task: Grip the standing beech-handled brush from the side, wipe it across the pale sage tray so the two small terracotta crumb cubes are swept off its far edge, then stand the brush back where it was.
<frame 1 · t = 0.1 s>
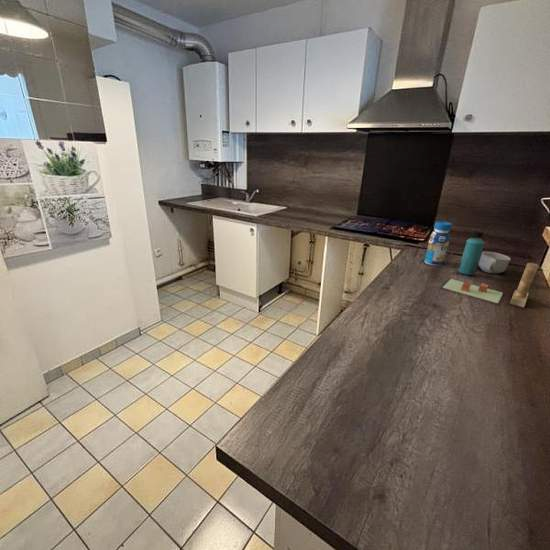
beverage bottle: (465, 275, 128), on the worktop
crumb a: (482, 290, 111), point 1 cm above the worktop, touching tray
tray: (471, 292, 112), on the worktop
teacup: (489, 272, 133), on the worktop
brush: (517, 303, 105), on the worktop
beverage bottle 2: (433, 263, 142), on the worktop
crumb b: (465, 289, 112), point 1 cm above the worktop, touching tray
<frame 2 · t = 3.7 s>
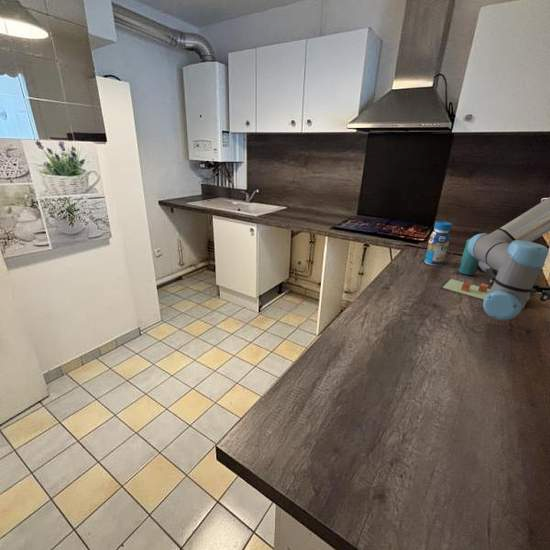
hand: (527, 277, 95), 12 cm above the worktop, tool horizontal, fingers open, 13 cm apart
nothing on the worktop moved.
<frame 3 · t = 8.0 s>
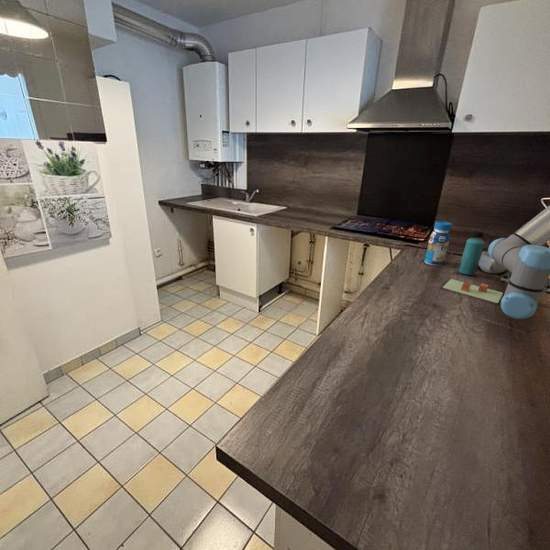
hand: (530, 271, 104), 11 cm above the worktop, tool horizontal, fingers closed on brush, 3 cm apart
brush: (517, 303, 105), on the worktop, touching gripper
everything else where it was.
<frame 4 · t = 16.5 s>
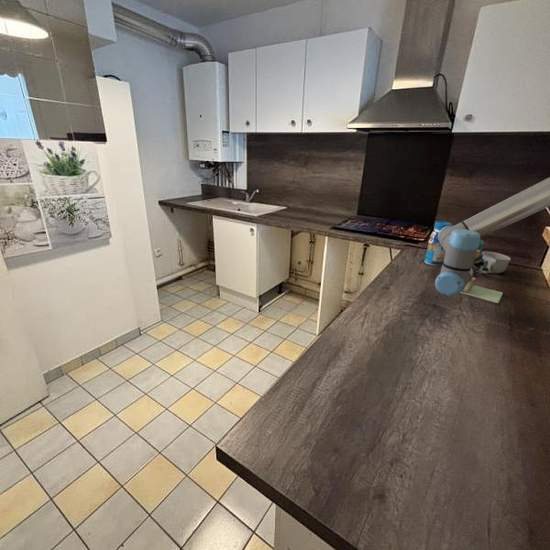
hand: (475, 256, 113), 13 cm above the worktop, tool horizontal, fingers closed on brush, 3 cm apart
crumb a: (456, 283, 117), point 1 cm above the worktop, touching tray
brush: (464, 286, 113), point 1 cm above the worktop, touching crumb b, gripper
crumb b: (453, 286, 114), point 1 cm above the worktop, touching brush, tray
everything else where it was.
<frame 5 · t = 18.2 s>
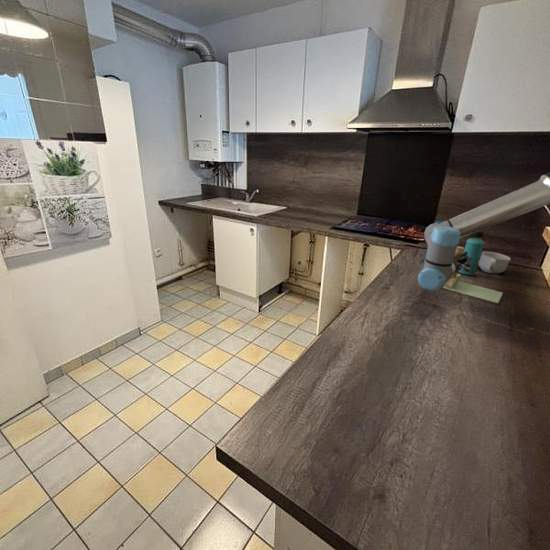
hand: (460, 253, 116), 12 cm above the worktop, tool horizontal, fingers closed on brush, 3 cm apart
crumb a: (442, 281, 121), on the worktop, touching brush
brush: (449, 282, 117), point 1 cm above the worktop, touching crumb a, gripper
crumb b: (440, 282, 117), point 1 cm above the worktop, tilted 90°
everything else where it was.
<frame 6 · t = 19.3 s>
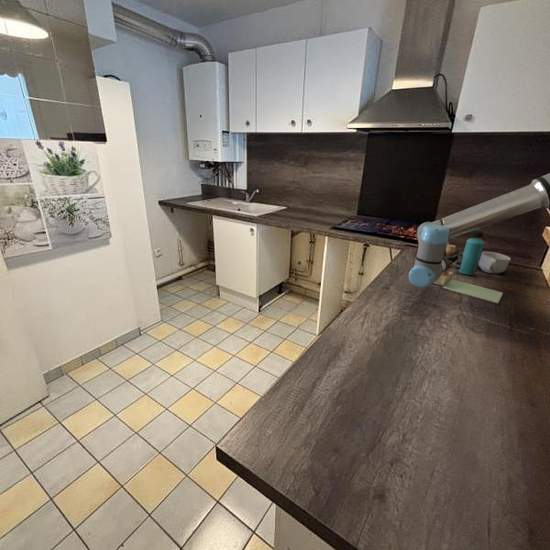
hand: (452, 252, 118), 12 cm above the worktop, tool horizontal, fingers closed on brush, 3 cm apart
crumb a: (435, 279, 123), on the worktop, touching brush
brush: (442, 280, 119), point 1 cm above the worktop, touching crumb a, crumb b, gripper
crumb b: (435, 280, 119), point 1 cm above the worktop, tilted 90°, touching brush
everything else where it was.
when the fingers open (11 cm above the worktop, at t = 27.6 s): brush stays where it is, on the worktop.
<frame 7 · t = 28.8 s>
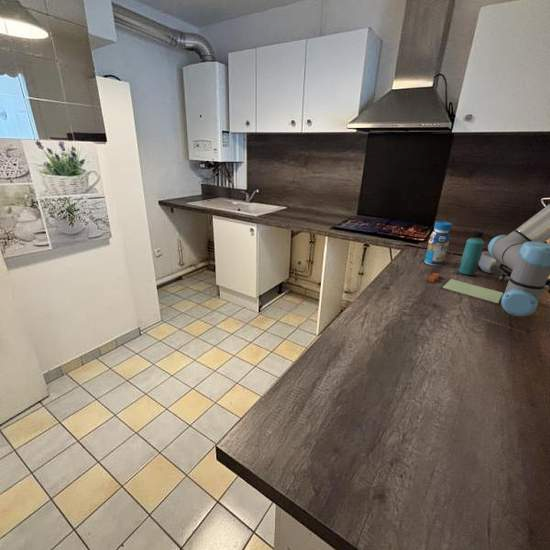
hand: (530, 270, 102), 12 cm above the worktop, tool horizontal, fingers open, 13 cm apart
crumb a: (434, 279, 123), on the worktop
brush: (517, 302, 105), on the worktop
crumb b: (435, 280, 119), point 1 cm above the worktop, tilted 90°
everything else where it was.
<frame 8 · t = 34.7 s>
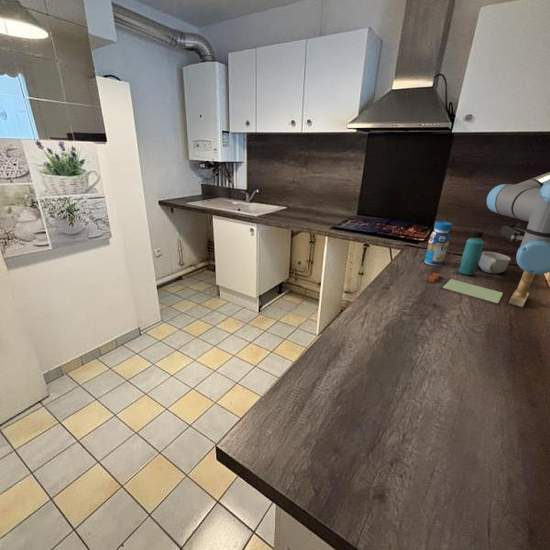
hand: (546, 231, 87), 28 cm above the worktop, tool horizontal, fingers open, 13 cm apart
nothing on the worktop moved.
at the end: crumb a inside the target area (3.0 cm from its centre), on the worktop; crumb b inside the target area (3.1 cm from its centre), point 1.2 cm above the worktop; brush tilted 0° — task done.
